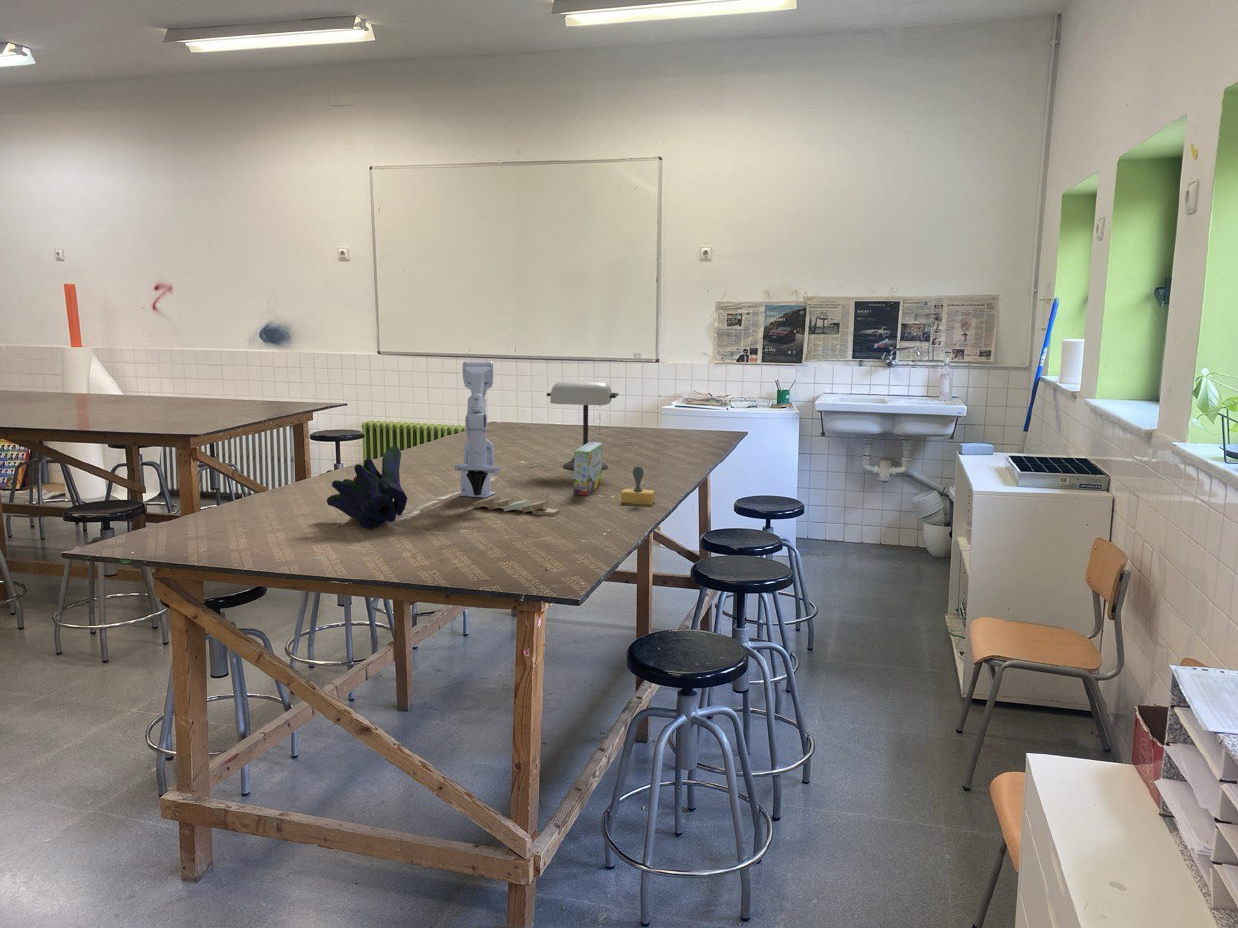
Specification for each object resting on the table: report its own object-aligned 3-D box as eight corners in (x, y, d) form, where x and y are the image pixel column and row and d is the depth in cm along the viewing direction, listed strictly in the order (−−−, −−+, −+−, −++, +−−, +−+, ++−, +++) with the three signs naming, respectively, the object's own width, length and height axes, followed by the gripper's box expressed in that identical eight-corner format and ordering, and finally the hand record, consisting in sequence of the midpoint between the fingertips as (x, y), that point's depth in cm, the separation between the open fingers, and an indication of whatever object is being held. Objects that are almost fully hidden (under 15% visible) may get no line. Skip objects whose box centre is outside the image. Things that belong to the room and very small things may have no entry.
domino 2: (487, 504, 275) (506, 500, 273) (494, 502, 280) (513, 497, 277) (488, 509, 276) (508, 505, 273) (495, 506, 280) (514, 502, 277)
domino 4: (521, 507, 272) (542, 502, 270) (527, 504, 276) (547, 499, 274) (523, 512, 272) (543, 507, 270) (529, 509, 276) (549, 504, 274)
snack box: (589, 496, 297) (589, 451, 294) (572, 495, 298) (572, 450, 295) (602, 483, 317) (603, 441, 315) (587, 483, 319) (587, 441, 316)
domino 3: (502, 506, 274) (522, 502, 271) (509, 503, 278) (529, 499, 275) (504, 511, 274) (523, 507, 271) (510, 508, 278) (530, 504, 275)
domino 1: (472, 503, 277) (491, 498, 275) (479, 500, 281) (498, 495, 279) (474, 508, 277) (493, 503, 275) (481, 505, 281) (500, 500, 279)
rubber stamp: (620, 503, 287) (621, 466, 285) (624, 499, 292) (625, 463, 290) (651, 505, 285) (652, 468, 283) (654, 501, 290) (655, 465, 288)
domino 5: (532, 510, 271) (553, 512, 269) (538, 507, 275) (559, 509, 273) (532, 515, 271) (553, 517, 269) (538, 512, 275) (559, 514, 273)
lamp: (542, 472, 336) (542, 382, 330) (557, 461, 360) (557, 377, 354) (612, 475, 332) (612, 384, 326) (622, 464, 356) (623, 379, 350)
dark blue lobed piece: (357, 561, 251) (332, 513, 275) (441, 519, 259) (410, 475, 282) (327, 505, 240) (304, 459, 263) (416, 462, 247) (385, 421, 270)
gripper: (449, 452, 274) (450, 495, 277) (492, 455, 270) (493, 499, 272) (460, 448, 281) (461, 491, 283) (502, 451, 277) (503, 494, 279)
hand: (477, 494), depth 278 cm, fingers closed
